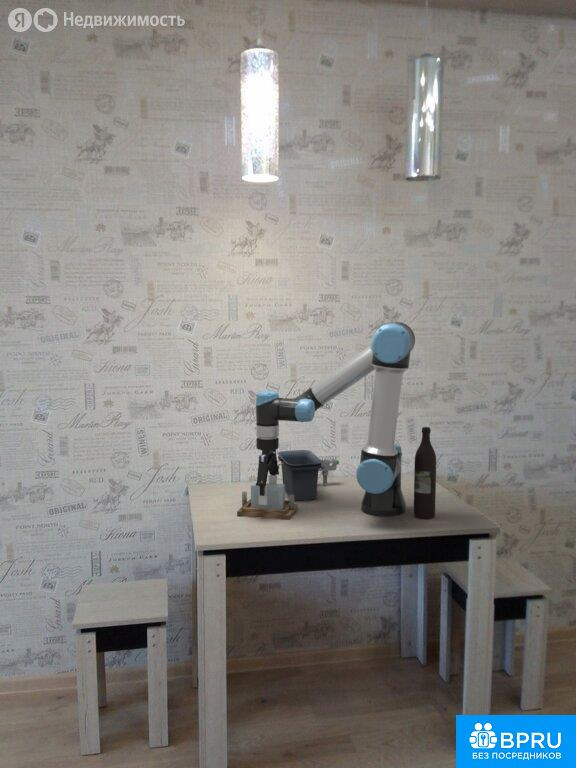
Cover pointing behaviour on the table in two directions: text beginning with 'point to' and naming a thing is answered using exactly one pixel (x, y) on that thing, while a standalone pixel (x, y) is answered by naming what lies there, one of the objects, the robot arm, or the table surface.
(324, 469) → the mechanical component
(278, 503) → the pale blue rounded block
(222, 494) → the table surface
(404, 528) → the table surface
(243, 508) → the brown wooden shallow tray
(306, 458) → the storage bin
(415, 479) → the wine bottle
